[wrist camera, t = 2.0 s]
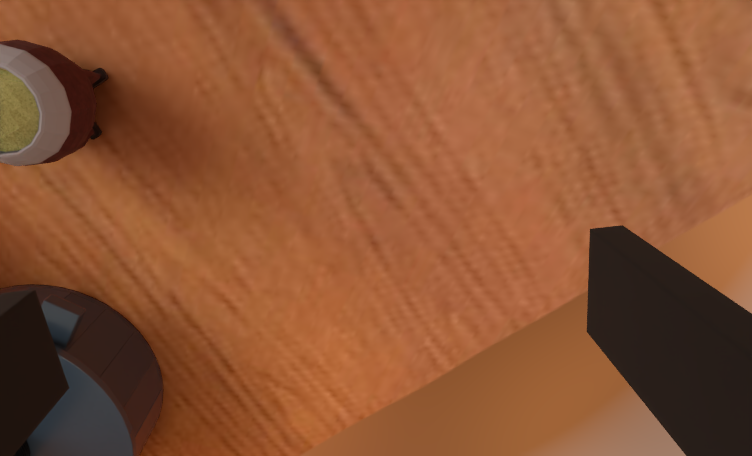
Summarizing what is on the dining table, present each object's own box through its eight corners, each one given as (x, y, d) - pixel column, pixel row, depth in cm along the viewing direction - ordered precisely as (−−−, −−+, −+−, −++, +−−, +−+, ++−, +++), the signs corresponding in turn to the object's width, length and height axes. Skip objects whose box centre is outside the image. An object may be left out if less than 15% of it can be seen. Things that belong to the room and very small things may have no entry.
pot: (-95, 441, 45) (-173, 511, 38) (-12, 215, 39) (-88, 250, 32) (106, 515, 48) (66, 591, 42) (211, 318, 42) (184, 369, 35)
